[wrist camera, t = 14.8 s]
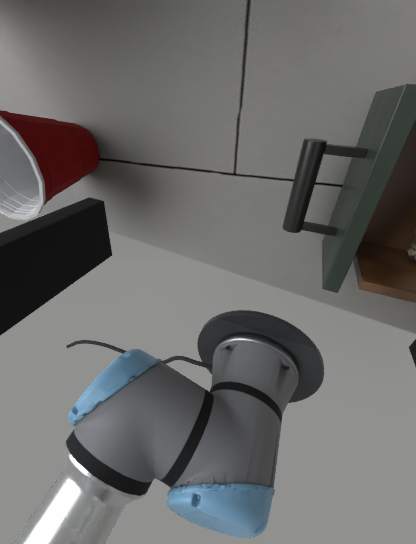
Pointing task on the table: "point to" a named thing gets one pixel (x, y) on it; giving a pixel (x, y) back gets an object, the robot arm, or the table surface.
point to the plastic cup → (40, 161)
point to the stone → (412, 250)
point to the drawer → (368, 200)
